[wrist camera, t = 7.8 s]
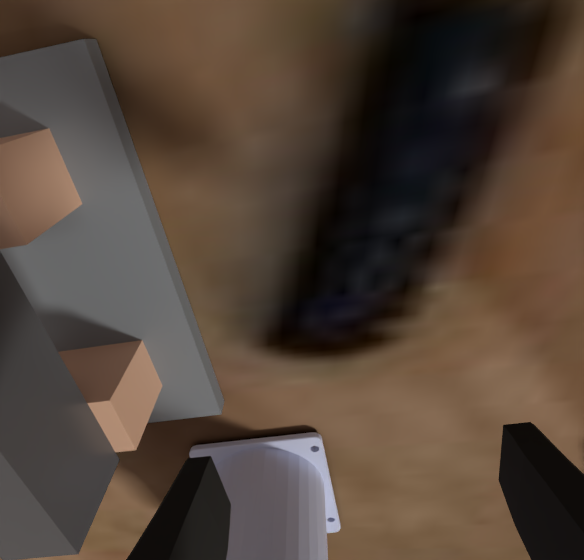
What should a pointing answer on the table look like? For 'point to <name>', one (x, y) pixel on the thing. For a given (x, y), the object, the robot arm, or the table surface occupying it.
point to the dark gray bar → (44, 439)
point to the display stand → (95, 245)
